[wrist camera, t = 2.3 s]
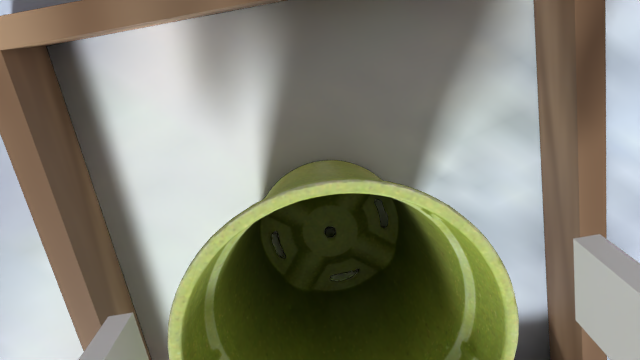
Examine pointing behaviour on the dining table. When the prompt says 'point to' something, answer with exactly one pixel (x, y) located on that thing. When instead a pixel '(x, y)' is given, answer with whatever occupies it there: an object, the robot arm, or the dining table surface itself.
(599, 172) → the frame
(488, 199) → the dining table surface
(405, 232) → the plant pot
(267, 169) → the dining table surface
